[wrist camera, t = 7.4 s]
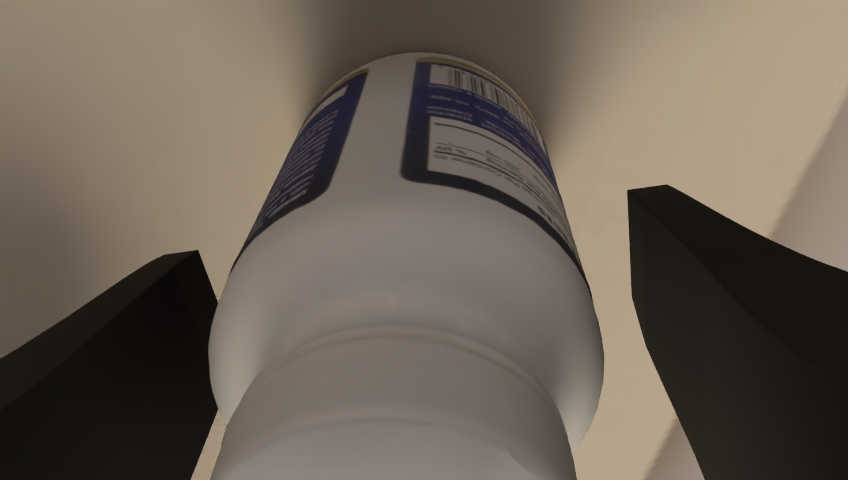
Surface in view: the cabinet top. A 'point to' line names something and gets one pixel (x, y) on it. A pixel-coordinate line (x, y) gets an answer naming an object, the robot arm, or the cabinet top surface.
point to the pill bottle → (408, 293)
